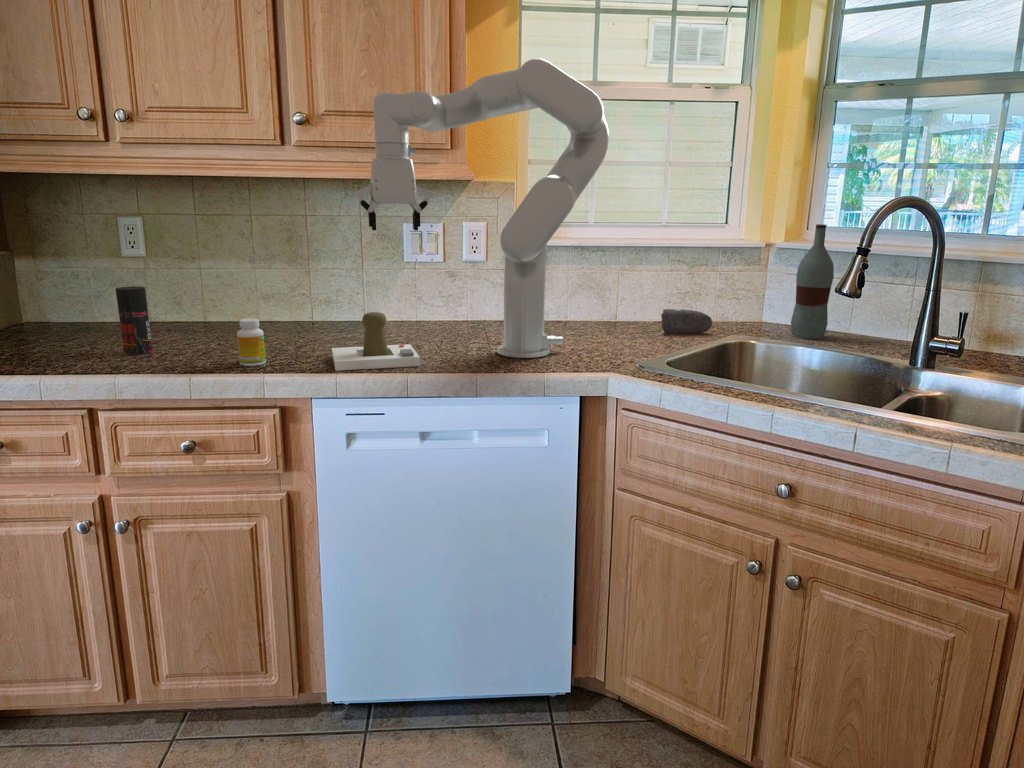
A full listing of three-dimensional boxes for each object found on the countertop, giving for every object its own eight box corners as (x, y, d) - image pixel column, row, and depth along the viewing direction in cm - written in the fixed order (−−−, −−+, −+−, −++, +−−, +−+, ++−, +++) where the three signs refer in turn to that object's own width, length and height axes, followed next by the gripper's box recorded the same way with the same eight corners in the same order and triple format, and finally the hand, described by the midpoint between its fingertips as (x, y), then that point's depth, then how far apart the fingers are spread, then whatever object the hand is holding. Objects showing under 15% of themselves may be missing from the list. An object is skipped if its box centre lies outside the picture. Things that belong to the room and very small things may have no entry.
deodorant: (125, 350, 162) (116, 287, 158) (153, 349, 165) (146, 286, 161) (123, 356, 157) (113, 290, 153) (152, 354, 159) (144, 289, 155)
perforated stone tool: (707, 332, 195) (710, 307, 193) (714, 335, 189) (716, 310, 188) (655, 332, 193) (657, 307, 192) (661, 336, 188) (662, 310, 187)
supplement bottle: (266, 365, 150) (262, 321, 147) (239, 367, 148) (235, 322, 146) (265, 360, 155) (262, 317, 152) (240, 361, 153) (236, 318, 150)
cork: (377, 357, 159) (375, 309, 156) (395, 361, 156) (393, 312, 153) (356, 361, 155) (354, 312, 152) (374, 365, 151) (372, 315, 148)
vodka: (833, 339, 186) (848, 225, 179) (806, 341, 183) (820, 225, 176) (808, 332, 195) (822, 223, 187) (781, 334, 192) (794, 223, 184)
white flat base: (410, 352, 164) (409, 340, 163) (420, 365, 151) (419, 353, 150) (332, 356, 159) (331, 344, 158) (335, 370, 146) (334, 357, 145)
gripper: (427, 154, 162) (428, 229, 167) (351, 152, 157) (355, 229, 162) (433, 152, 155) (434, 230, 160) (354, 150, 150) (358, 231, 155)
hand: (395, 230), depth 161 cm, fingers open, 9 cm apart
